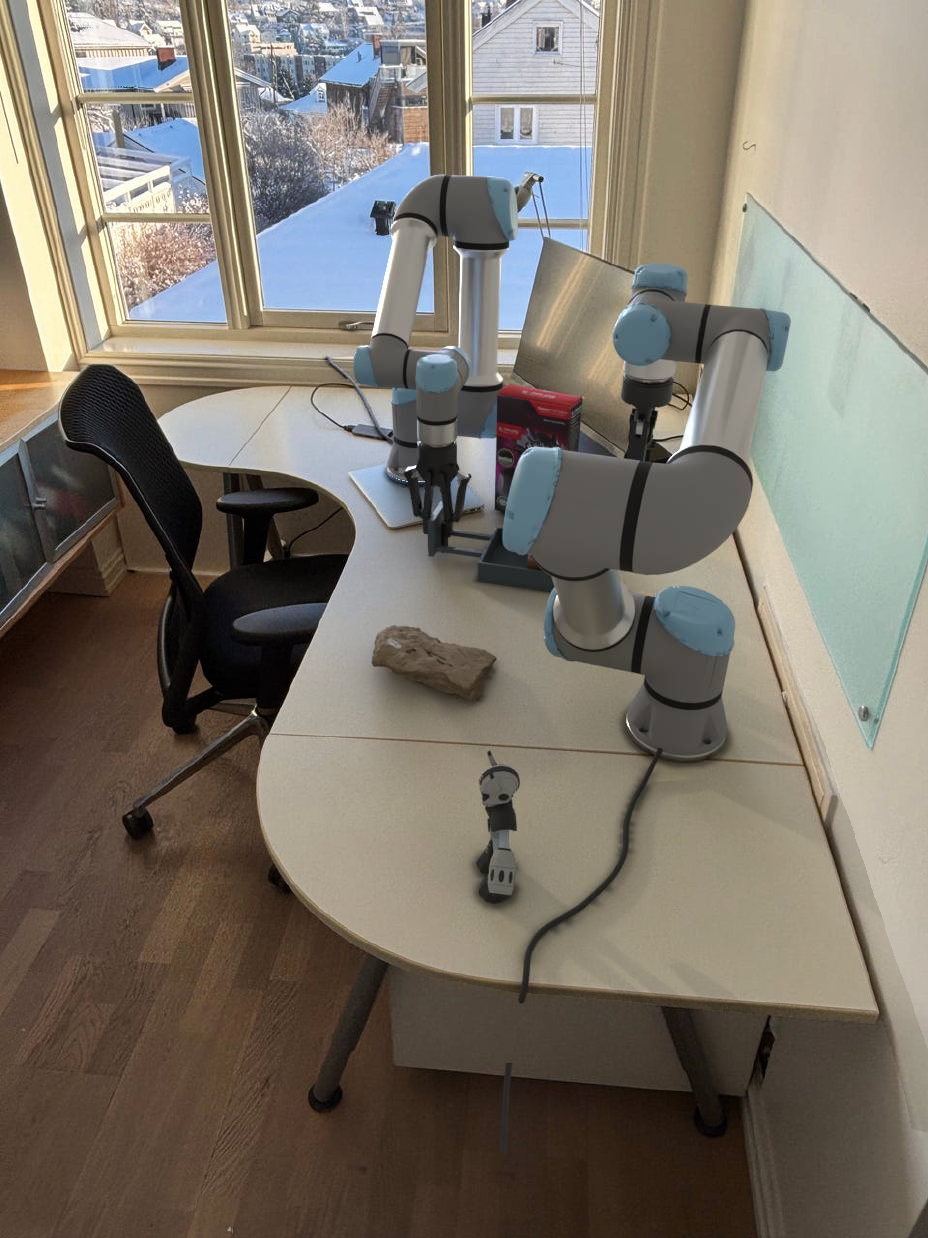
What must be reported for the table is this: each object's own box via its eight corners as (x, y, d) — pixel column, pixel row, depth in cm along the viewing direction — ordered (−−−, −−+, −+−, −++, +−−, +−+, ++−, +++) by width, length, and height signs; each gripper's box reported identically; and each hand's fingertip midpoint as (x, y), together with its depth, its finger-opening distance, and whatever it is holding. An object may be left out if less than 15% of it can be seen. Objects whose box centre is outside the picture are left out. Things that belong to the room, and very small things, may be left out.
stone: (347, 674, 149) (354, 641, 146) (379, 641, 162) (386, 611, 160) (469, 718, 145) (478, 685, 143) (492, 681, 159) (500, 650, 156)
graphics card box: (491, 511, 204) (494, 391, 189) (505, 498, 209) (509, 381, 194) (563, 528, 197) (572, 406, 182) (575, 515, 202) (585, 395, 187)
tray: (568, 554, 189) (571, 510, 183) (554, 592, 176) (557, 546, 171) (445, 536, 194) (445, 494, 189) (423, 572, 182) (422, 527, 176)
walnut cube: (525, 582, 178) (527, 560, 175) (531, 569, 182) (532, 547, 179) (551, 586, 177) (552, 563, 174) (556, 573, 181) (557, 551, 178)
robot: (522, 941, 111) (530, 823, 99) (481, 942, 110) (485, 824, 99) (507, 820, 127) (513, 708, 116) (472, 821, 127) (474, 708, 115)
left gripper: (480, 436, 175) (478, 544, 189) (405, 428, 179) (408, 535, 192) (470, 452, 169) (469, 562, 183) (392, 442, 173) (396, 552, 186)
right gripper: (667, 407, 126) (648, 543, 138) (680, 351, 146) (663, 474, 158) (612, 401, 128) (598, 536, 139) (633, 347, 148) (619, 469, 159)
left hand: (438, 548), depth 187 cm, fingers open, 2 cm apart
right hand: (633, 503), depth 149 cm, fingers open, 13 cm apart
